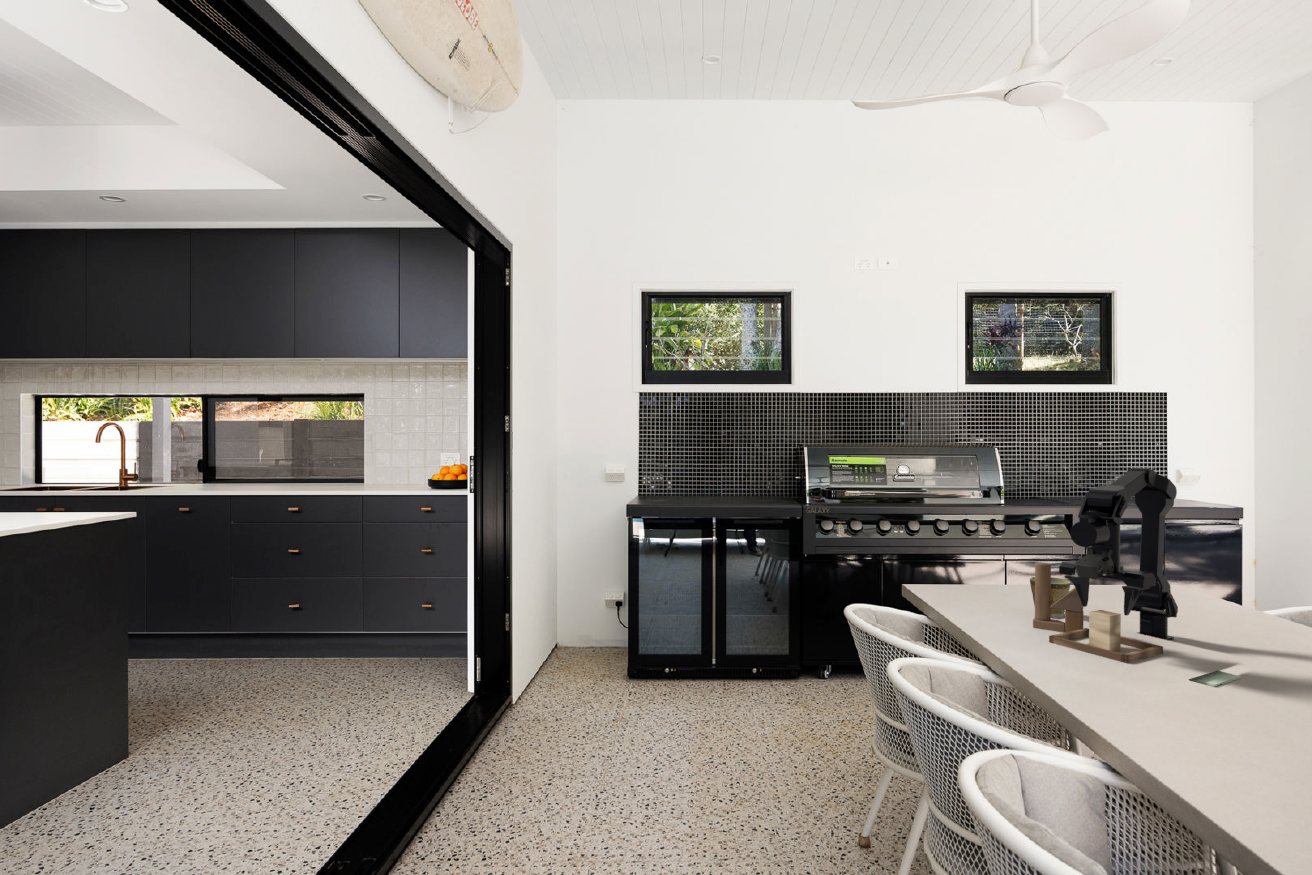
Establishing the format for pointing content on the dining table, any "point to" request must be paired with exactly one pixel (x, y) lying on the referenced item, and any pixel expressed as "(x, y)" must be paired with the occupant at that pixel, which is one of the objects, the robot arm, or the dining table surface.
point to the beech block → (1105, 630)
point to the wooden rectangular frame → (1066, 641)
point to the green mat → (1215, 678)
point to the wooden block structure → (1055, 604)
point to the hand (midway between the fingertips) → (1105, 610)
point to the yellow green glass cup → (1054, 593)
